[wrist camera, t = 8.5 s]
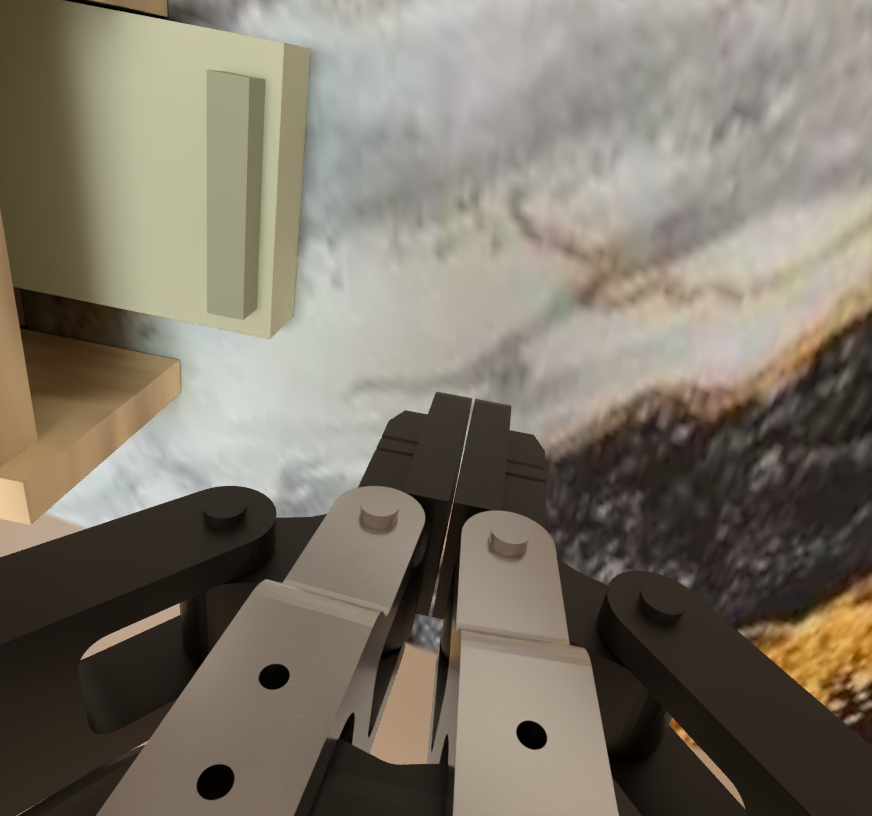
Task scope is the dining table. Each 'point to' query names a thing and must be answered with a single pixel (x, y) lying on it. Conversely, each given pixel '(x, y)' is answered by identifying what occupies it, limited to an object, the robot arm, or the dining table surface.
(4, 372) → the wooden c-channel bracket
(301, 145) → the panel
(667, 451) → the dining table surface
